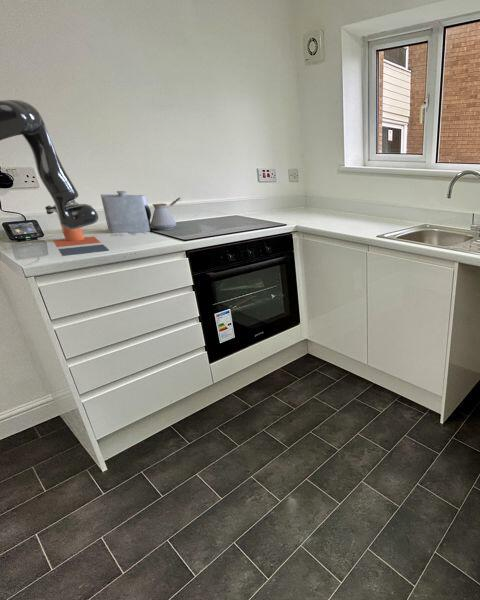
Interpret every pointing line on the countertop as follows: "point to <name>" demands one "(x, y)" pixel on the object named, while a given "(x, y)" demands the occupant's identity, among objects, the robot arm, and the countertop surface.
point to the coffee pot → (163, 217)
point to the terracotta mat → (76, 242)
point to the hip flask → (125, 213)
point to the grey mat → (83, 250)
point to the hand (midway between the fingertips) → (66, 207)
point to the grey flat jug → (132, 195)
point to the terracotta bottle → (72, 233)
